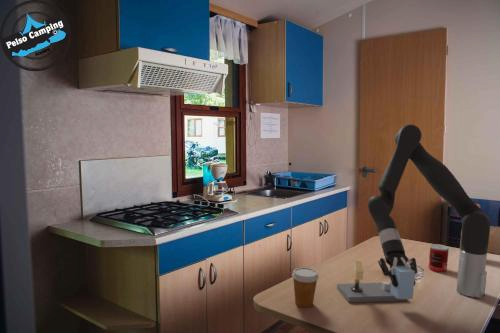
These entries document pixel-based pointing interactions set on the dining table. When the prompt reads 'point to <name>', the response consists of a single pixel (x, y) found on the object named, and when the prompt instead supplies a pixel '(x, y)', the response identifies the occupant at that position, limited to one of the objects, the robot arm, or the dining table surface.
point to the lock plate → (367, 292)
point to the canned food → (438, 258)
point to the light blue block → (403, 283)
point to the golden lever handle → (358, 273)
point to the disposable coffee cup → (304, 286)
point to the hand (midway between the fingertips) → (404, 286)
